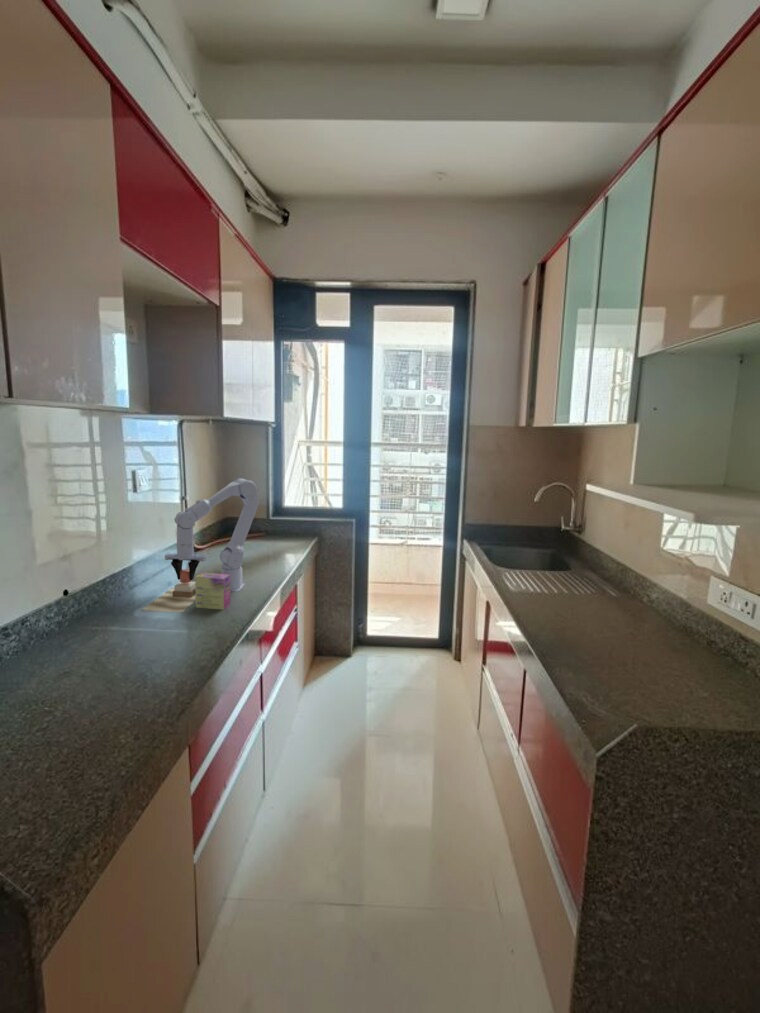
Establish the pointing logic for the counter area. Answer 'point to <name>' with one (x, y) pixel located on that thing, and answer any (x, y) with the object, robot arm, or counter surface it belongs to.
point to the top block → (185, 586)
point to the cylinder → (185, 576)
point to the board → (170, 603)
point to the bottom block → (184, 593)
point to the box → (212, 591)
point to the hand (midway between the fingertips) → (185, 579)
